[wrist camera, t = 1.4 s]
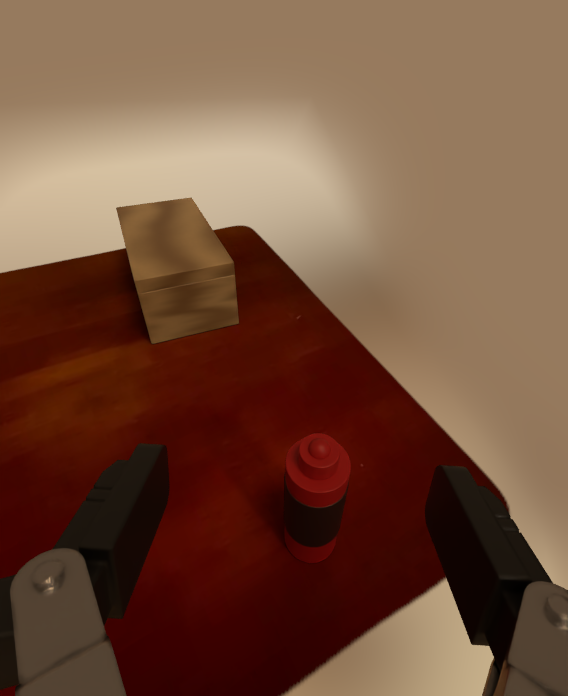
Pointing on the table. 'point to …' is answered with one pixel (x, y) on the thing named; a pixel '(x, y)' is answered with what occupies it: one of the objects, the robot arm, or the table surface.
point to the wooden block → (178, 269)
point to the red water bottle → (314, 496)
